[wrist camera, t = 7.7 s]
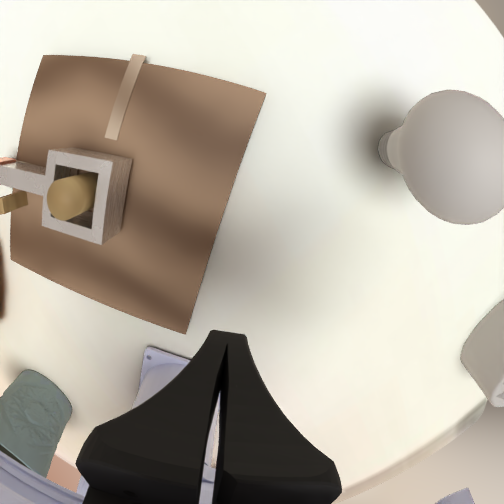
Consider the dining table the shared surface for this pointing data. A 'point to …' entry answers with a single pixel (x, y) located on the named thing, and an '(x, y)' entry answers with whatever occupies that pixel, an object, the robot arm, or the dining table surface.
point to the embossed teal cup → (32, 420)
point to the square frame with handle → (65, 165)
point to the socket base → (132, 178)
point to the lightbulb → (451, 156)
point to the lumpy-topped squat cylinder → (487, 355)
